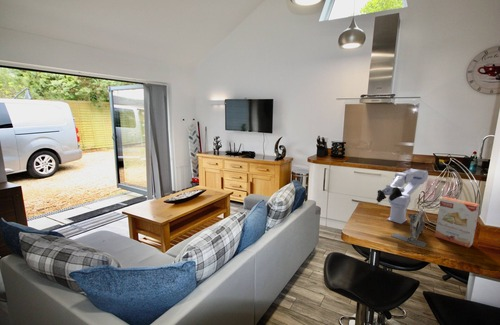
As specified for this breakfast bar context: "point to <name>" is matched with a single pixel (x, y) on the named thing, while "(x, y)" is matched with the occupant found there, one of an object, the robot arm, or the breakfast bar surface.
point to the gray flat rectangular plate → (409, 241)
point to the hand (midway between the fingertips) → (383, 200)
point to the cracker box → (457, 221)
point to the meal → (416, 225)
